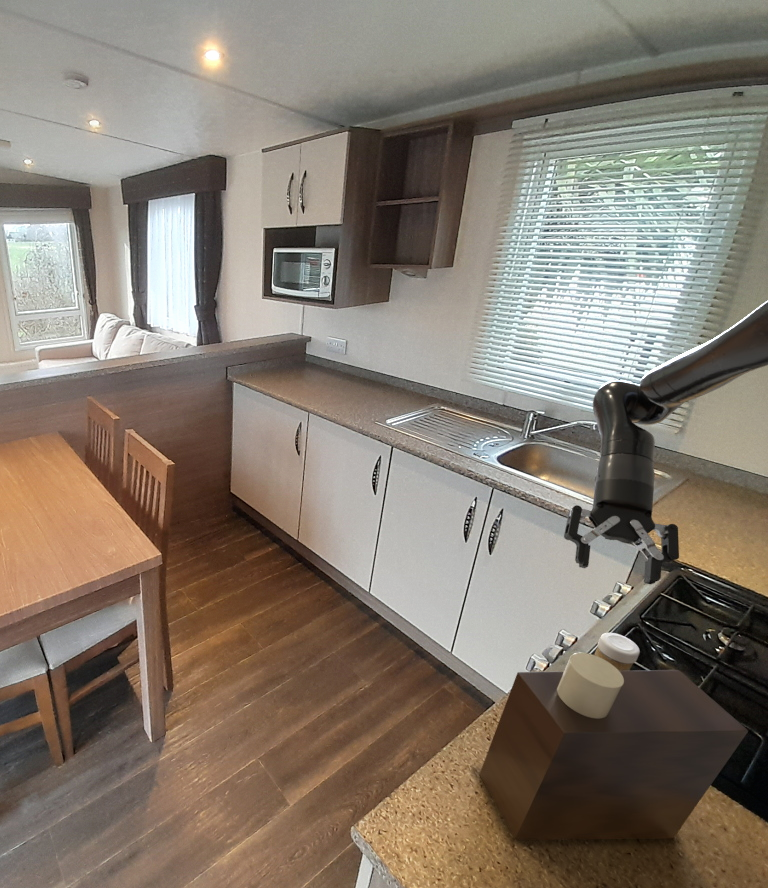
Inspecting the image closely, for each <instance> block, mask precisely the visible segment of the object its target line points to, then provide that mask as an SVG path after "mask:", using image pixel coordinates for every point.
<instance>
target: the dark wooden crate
mask: <svg viewBox="0 0 768 888" xmlns="http://www.w3.org/2000/svg"><path fill="white" fill-rule="evenodd" d="M563 672H564V671H518V672H517V673H516V676H515V677H514V681H513V683H512V686H511V689H510V692H509V694H508V697H507V699H506V702H505V705H504V708H503V710H502V713H501V716H500V718H499V720H498V724H497V726H496V729H495V730H494V731H495V732H494V734H493V737H492V740H491V742H490V744H489V748H488V750H487V753H486V756H485V759H484V761H483V764H482V766H481V769H480V771H479V774H478V775H479V777H480V779H481V781H482V783H483V785H484V786H485V788H486V790H487V791H488V793H489V795H490V797H491V798H492V801H493V802H494V804H495V806H496V808H497V809H498V811H499V813H500V815H501V817H502V819H503V820H504V822H505V824H506V826H507V827H508V830H509V831H510V833H511V835H512V836H513V839H514V840H516V841H517V840H521V841H523V840H524V841H525V840H528V841H529V840H629V839H630V840H632V839H637V840H638V839H639V840H640V839H641V840H642V839H674V838H675V837H676V836H677V834H678V832H679V831H680V830H681V828H682V827H683V825H684V824H685V823H686V821H687V819H688V818H689V817H690V816H691V814H692V812H693V811H694V810H695V808H696V807H697V805H698V804H699V802H700V801H701V799H702V798H703V797H704V795H705V794H706V793H707V791H708V790H709V788H710V787H711V785H712V784H713V783H714V781H715V779H716V778H717V777H718V776H719V774H720V773H721V771H722V770H723V768H724V767H725V765H726V764H727V763H728V761H729V760H730V759H731V757H732V755H733V754H734V753H735V751H736V750H737V748H738V747H739V745H740V744H741V742H742V741H743V740H744V738H745V737H746V736H747V734H748V732H749V730H748V729H747V728H746V727H745V726H743V724H742V723H740V722H739V721H737V719H736V718H734V717H733V716H732V715H731V714H730V713H729V712H728V711H726V709H724V708H723V707H722V706H721V705H720V704H718V703H717V702H716V701H715V700H714V699H713V698H712V697H710V695H708V694H707V693H706V692H705V691H704V690H703V689H701V688H700V687H699V686H698V685H696V684H695V682H693V681H692V680H691V679H689V678H688V677H687V676H686V675H685V674H684V673H683V672H682V671H681V670H679V669H662V670H661V669H657V670H653V669H652V670H650V669H648V670H646V669H645V670H630V671H620V673H621V674H622V676H623V678H624V684H623V686H622V688H621V690H620V692H619V694H618V696H617V698H616V700H615V702H614V704H613V706H612V708H611V710H610V712H609V714H608V715H607V716H606V717H604V718H600V719H596V718H590V717H587V716H584V715H582V714H580V713H578V712H576V711H574V710H573V709H571V708H570V707H568V706H567V705H566V704H565V703H564V702H563V701H562V700H561V698H560V697H559V695H558V693H557V686H558V684H559V682H560V679H561V677H562V675H563Z"/></svg>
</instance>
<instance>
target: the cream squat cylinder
mask: <svg viewBox="0 0 768 888" xmlns="http://www.w3.org/2000/svg"><path fill="white" fill-rule="evenodd" d="M562 672H563V675H562V677H561V679H560V682H559V684H558V686H557V693H558V695H559V697H560V698H561V700H562V701H563V702H564V703H565V704H566V705H567V706H568V707H570V708H571V709H573V710H574V711H576V712H578V713H580V714H582V715H584V716H587V717H590V718H596V719H600V718H604V717H606V716H607V715H608V714H609V712H610V710H611V708H612V706H613V704H614V702H615V700H616V698H617V696H618V694H619V692H620V690H621V688H622V686H623V684H624V678H623V676H622V674H621V673H620V671H619V670H618V669H617V668H616V667H614V666H613V665H612V664H610V663H609V662H607V661H606V660H604V659H602V658H600V657H598V656H595V655H594V654H591V653H587V652H575V653H573V654H571V655H570V656H569V659H568V661H567V663H566V665H565V667H564V670H563V671H562Z"/></svg>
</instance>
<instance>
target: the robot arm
mask: <svg viewBox="0 0 768 888" xmlns="http://www.w3.org/2000/svg"><path fill="white" fill-rule="evenodd" d="M767 366H768V300H767V301H765V302H764V303H762V304H761V305H759V306H758V307H757V308H756V309H754V310H753V311H752V312H750V313H749V314H747V316H745V317H743V319H741V320H740V321H738V322H737V323H735V324H734V325H733V326H731V327H730V328H729V329H727V330H725V331H723V332H722V333H721V334H719V335H717V336H716V337H714V338H713V339H711V340H708V341H707V342H705V343H703V344H701V345H699V346H696V347H694V348H692V349H690V350H688V351H686V352H684V353H682V354H680V355H678V356H676V357H674V358H672V359H670V360H668V361H666V362H665V363H662V364H661V365H659V366H657V367H655V368H653V369H651V370H650V371H648V372H647V373H645V374H644V376H643V377H642V378H641V380H640V382H639V383H636V382H635V383H634V382H631V381H625V380H619V379H616V380H610V381H607V382H605V383H604V384H602V385H601V386H600V387H599V388H598V389H597V391H596V392H595V394H594V396H593V401H592V411H593V415H594V418H595V419H594V420H595V422H596V426H597V429H598V433H599V436H600V440H601V443H600V452H599V460H598V465H597V468H596V473H595V477H594V491H593V501H592V509H591V510H590V509H589V510H588V509H586V508H583V507H581V506H580V505H574V506H573V507H571V508H570V509H569V510H568V514H567V519H566V524H565V528H564V533H563V538H564V539H565V540H566V541H570V542H572V543H574V544H575V546H576V549H575V558H574V561H575V563H576V564H578V567H579V568H582V569H587V568H588V567H589V565H590V554H591V545H590V543H591V542H592V541H594V540H595V539H597V538H598V537H599V536H602V537H603V538H604V540H609V541H618V542H620V543H622V544H628V545H629V544H632V545H633V546H634V547H635V548H636V550H637V551H640V552H641V554H642V555H643V556H644V557H645V559H646V561H644V573H643V574H644V575H643V583H644V584H646V585H654V584H655V583H656V582H660V580H661V579H662V564H663V563H671V562H673V561H676V560H678V559H679V558H680V546H679V545H680V543H679V527H678V526H677V524H675V523H670V524H661V523H656V522H655V521H654V520H653V518H652V516H653V508H654V507H653V505H654V493H655V489H654V488H655V468H654V460H655V446H656V445H655V443H656V441H655V438H654V435H653V434H652V433H651V432H650V431H649V430H646V429H645V428H642V427H640V426H652V425H656V424H659V423H661V422H663V421H665V420H666V419H667V418H668V417H669V416H670V415H671V414H672V413H674V412H675V411H676V410H678V408H680V407H682V405H684V404H685V403H687V402H690V401H692V400H694V399H697V398H700V397H702V396H704V395H708V394H710V393H712V392H714V391H716V390H718V389H720V388H723V387H724V386H726V385H729V384H730V383H731V382H733V381H734V380H736V379H738V378H740V377H741V376H743V375H746V374H747V373H750V372H752V371H753V372H754V371H755V370H758V369H761V368H763V367H767ZM586 518H588V519H589V521H590V522H591V524H592V525H593V527H594V528H593V529H591V530H590V531H589V532H587V533H586V534H584V535H581V534H579V533H578V532H579V527H580V523H581V522H582V521H584V520H585V519H586ZM652 531H654V532H655V533H656V536H657V537H658V538H660V542H661V543H660V545H661V547H660V548H661V549H660V550H659V548H658V547H657V545H656V542H655V541H654V539H653V538H652V537H651V536H650V533H651V532H652Z"/></svg>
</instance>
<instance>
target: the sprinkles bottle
mask: <svg viewBox="0 0 768 888" xmlns="http://www.w3.org/2000/svg"><path fill="white" fill-rule="evenodd" d="M597 641H598V642H597V648H596V649H595V652H594V654H593V655H595V656H598V657H600V658H602V659H604V660H606V661H607V662H609V663H610V664H612V665H613V666H614V667H616V668H617V669H618V670H619V671H631V668H632V666H633V664H635V663H636V662H637V660H638V658H639V656H640V653H641V651H640V648H639V646H638V645H637V644H636V642H634V641H633V640H631V638H628V637H626V636H624V635H622V634H620V633H615V632H604V633H602V634H601V635H600V637H599V639H598V640H597Z"/></svg>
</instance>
